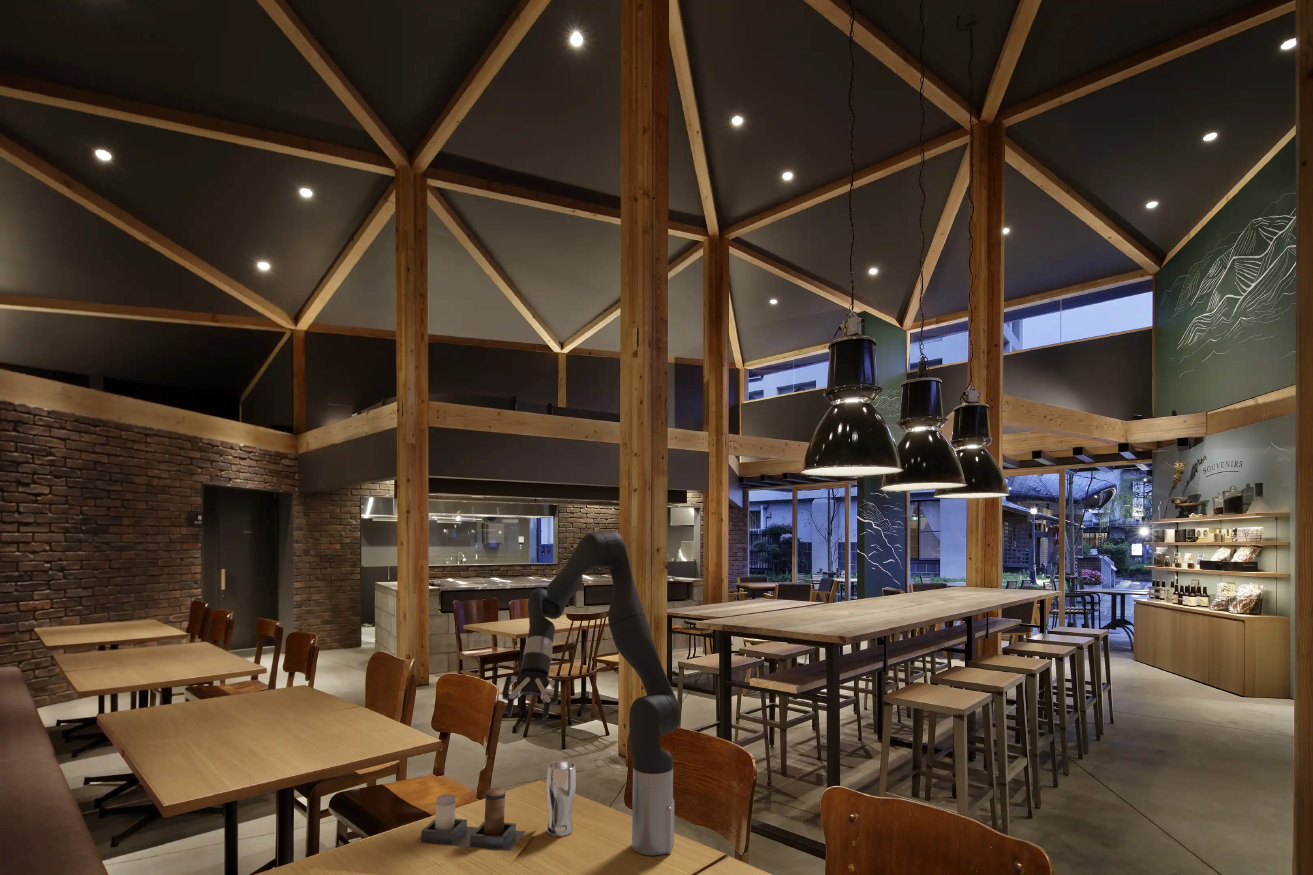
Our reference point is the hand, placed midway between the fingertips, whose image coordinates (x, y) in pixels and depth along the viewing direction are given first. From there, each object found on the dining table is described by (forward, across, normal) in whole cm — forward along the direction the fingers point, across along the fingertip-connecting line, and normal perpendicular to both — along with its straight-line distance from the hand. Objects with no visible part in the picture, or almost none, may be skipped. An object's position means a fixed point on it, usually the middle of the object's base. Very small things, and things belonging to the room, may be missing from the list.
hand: (526, 717), depth 177 cm
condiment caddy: (+27, -8, +6) cm, 29 cm away
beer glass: (+23, +12, +8) cm, 27 cm away
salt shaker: (+26, -14, +7) cm, 30 cm away
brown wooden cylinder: (+27, -3, +4) cm, 27 cm away
